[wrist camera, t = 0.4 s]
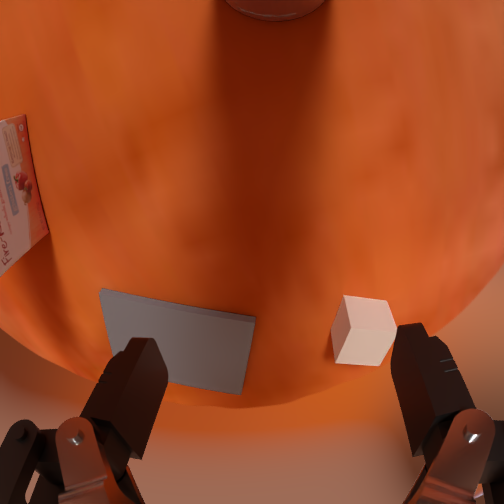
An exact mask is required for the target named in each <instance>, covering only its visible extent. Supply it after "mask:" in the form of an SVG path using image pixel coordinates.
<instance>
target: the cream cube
mask: <svg viewBox="0 0 504 504" xmlns="http://www.w3.org/2000/svg"><path fill="white" fill-rule="evenodd" d="M396 332H397V327H396V325H395V322H394V319H393V316H392V314H391V311H390V308H389V306H388V303H387V301H385V300H377V299H369V298H361V297H354V296H346V295H344V296H343V299H342V301H341V304H340V307H339V309H338V312H337V315H336V317H335V320H334V322H333V325H332V327H331V337H332V344H333V351H334V359H335V363H342V364H355V365H371V366H379V365H380V364H381V362H382V360H383V358H384V357H385V355H386V353H387V352H388V350H389V348H390V346H391V345H392V343H393V341H394V339H395V337H396Z"/></svg>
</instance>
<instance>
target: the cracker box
mask: <svg viewBox="0 0 504 504" xmlns="http://www.w3.org/2000/svg"><path fill="white" fill-rule="evenodd" d="M48 233H49V230H48V227H47V224H46V220H45V217H44V213H43V209H42V205H41V201H40V197H39V192H38V188H37V183H36V179H35V174H34V168H33V163H32V158H31V152H30V146H29V139H28V132H27V125H26V116H25V114H23V115H20V116H16V117H12V118H8V119H5V120H1V121H0V277H1V276H2V275H3V274H4V273H5V272H6V271H7V270H8V269H9V268H10V267H11V266H12V265H13V264H14V263H15V262H16V261H18V260H19V259H20V258H21V257H22V256H23V255H24V254H25V253H26V252H27V251H28V250H30V249H31V248H32V247H33V246H34V245H35V244H36V243H37V242H38V241H40V240H41V239H42V238H43V237H44V236H45V235H47V234H48Z"/></svg>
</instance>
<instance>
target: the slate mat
mask: <svg viewBox="0 0 504 504" xmlns="http://www.w3.org/2000/svg"><path fill="white" fill-rule="evenodd" d="M99 297H100V302H101V306H102V311H103V316H104V320H105V325H106V329H107V333H108V337H109V341H110V345H111V349H112V353H113V357H114V356H115V355H116V354H117V353H118V352H119V351H124V349H125V347H126V346H127V344H128V342H129V340H130V339H131V338H132V337H143V338H154V339H155V341H156V343H157V345H158V348H159V350H160V352H161V355H162V357H163V360H164V362H165V364H166V367H167V370H168V382H172V383H176V384H181V385H186V386H191V387H196V388H201V389H207V390H212V391H218V392H224V393H230V394H237V395H241V393H242V388H243V383H244V378H245V373H246V368H247V363H248V358H249V353H250V347H251V342H252V337H253V332H254V327H255V320H256V317H253V316H246V315H240V314H234V313H227V312H221V311H215V310H210V309H204V308H198V307H193V306H187V305H182V304H176V303H171V302H166V301H161V300H156V299H151V298H146V297H141V296H136V295H131V294H126V293H122V292H117V291H113V290H108V289H104V288H102V290H101V291H100V292H99Z"/></svg>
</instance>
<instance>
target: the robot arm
mask: <svg viewBox="0 0 504 504" xmlns="http://www.w3.org/2000/svg"><path fill="white" fill-rule="evenodd" d="M225 1H226V2H227V3H228V4H229V5H230V6H231V7H232V8H234V9H236V10H237V11H239V12H240V13H242V14H244V15H247V16H250V17H252V18H255V19H260V20H265V21H285V20H292V19H296V18H299V17H302V16H305V15H307V14H309V13H311V12H312V11H314V10H315V9H317V8H318V7H319V6H320V5H321V4H323V2H324V1H325V0H225ZM457 368H458V367H457V365H456V363H455V361H454V360H453V357H452V355H451V353H450V351H449V349H448V347H447V345H446V344H445V343H443V342H442V341H441V340H440V339H439V338H438V337H437V336H433V337H429V336H428V334H427V332H426V330H425V328H424V326H423V324H422V323H413V324H406V325H399V326H398V328H397V332H396V337H395V342H394V347H393V352H392V356H391V374H392V378H393V382H394V385H395V389H396V392H397V396H398V400H399V403H400V407H401V410H402V414H403V418H404V422H405V426H406V430H407V434H408V439H409V443H410V447H411V451H412V456H413V457H415V456H419V455H424V459H425V464H424V466H423V468H422V470H421V472H420V473H419V475H418V477H417V479H416V481H415V483H414V485H413V486H412V488H411V490H410V491H409V493H408V495H407V496H406V498H405V500H404V501H403V503H402V504H476V501H475V500H474V494H475V491H476V489H477V486H478V484H480V483H482V487H483V493H484V498H485V504H504V421H497V420H492V418H491V417H490V416H489V415H488V414H487V413H486V412H484V411H482V410H479V409H477V408H476V407H475V405H474V403H473V400H472V398H471V396H470V394H469V391H468V389H467V387H466V384H465V382H464V380H463V378H462V376H461V374H460V372H459V370H458V369H457ZM103 372H104V373H103V374H102V375H101V377H100V379H99V380H98V381H99V383H97V384H96V386H95V388H94V390H93V392H92V394H91V396H90V397H89V399H88V401H87V403H86V405H85V407H84V409H83V411H82V413H81V415H80V416H79V417H73V418H70V419H68V420H66V421H64V423H62V424H61V425H60V426H59V428H58V429H46V430H39V428H37V426H36V425H35V424H34V423H33V422H32V421H30V420H20V421H18V422H16V423H15V424H13V425H12V426H11V428H10V429H9V431H8V433H7V435H6V437H5V439H4V441H3V443H2V445H1V447H0V504H27V503H26V500H25V493H26V490H27V488H28V485H29V483H30V480H31V478H32V475H33V473H34V470H35V471H36V472H38V473H39V474H40V475H39V478H38V481H37V483H36V486H35V488H34V491H33V494H32V496H31V499H30V502H29V503H28V504H145V502H144V500H143V498H142V496H141V493H140V491H139V489H138V487H137V485H136V482H135V480H134V478H133V475H132V473H131V471H130V468H129V466H128V465H127V463H128V461H129V458H135V459H140V460H141V459H142V457H143V454H144V451H145V448H146V445H147V442H148V439H149V436H150V433H151V430H152V427H153V424H154V422H155V419H156V416H157V413H158V410H159V407H160V404H161V401H162V399H163V396H164V393H165V390H166V387H167V384H168V370H167V367H166V364H165V362H164V360H163V357H162V355H161V352H160V350H159V348H158V345H157V343H156V341H155V339H154V338H143V337H132V338H131V339H130V340H129V342H128V344H127V346H126V347H125V349H124V351H119V352H118V353H117V354H116V355H115V356H114V357H113V358H112V359H111V360H109V362H108V364H107V366H106V368H105V369H104V371H103Z"/></svg>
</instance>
